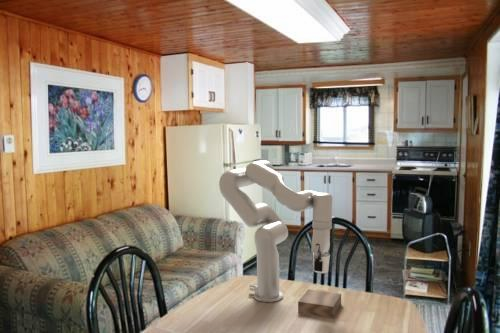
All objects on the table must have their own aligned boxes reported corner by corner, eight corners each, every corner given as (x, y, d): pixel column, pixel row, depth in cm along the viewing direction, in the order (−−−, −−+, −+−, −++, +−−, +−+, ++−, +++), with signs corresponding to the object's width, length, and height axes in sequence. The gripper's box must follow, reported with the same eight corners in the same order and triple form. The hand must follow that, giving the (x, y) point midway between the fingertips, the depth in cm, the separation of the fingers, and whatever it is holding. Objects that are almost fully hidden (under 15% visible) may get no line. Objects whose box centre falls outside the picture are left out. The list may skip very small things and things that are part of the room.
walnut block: (298, 313, 178) (298, 301, 177) (308, 300, 190) (308, 289, 190) (333, 319, 172) (333, 306, 172) (341, 305, 185) (341, 293, 184)
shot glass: (329, 274, 175) (329, 257, 174) (311, 273, 177) (312, 255, 176) (329, 268, 182) (330, 251, 181) (312, 267, 183) (313, 250, 183)
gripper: (319, 218, 187) (318, 260, 189) (305, 227, 171) (304, 273, 173) (337, 220, 183) (335, 263, 185) (324, 230, 168) (323, 276, 170)
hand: (320, 267), depth 179 cm, fingers closed on shot glass, 6 cm apart
